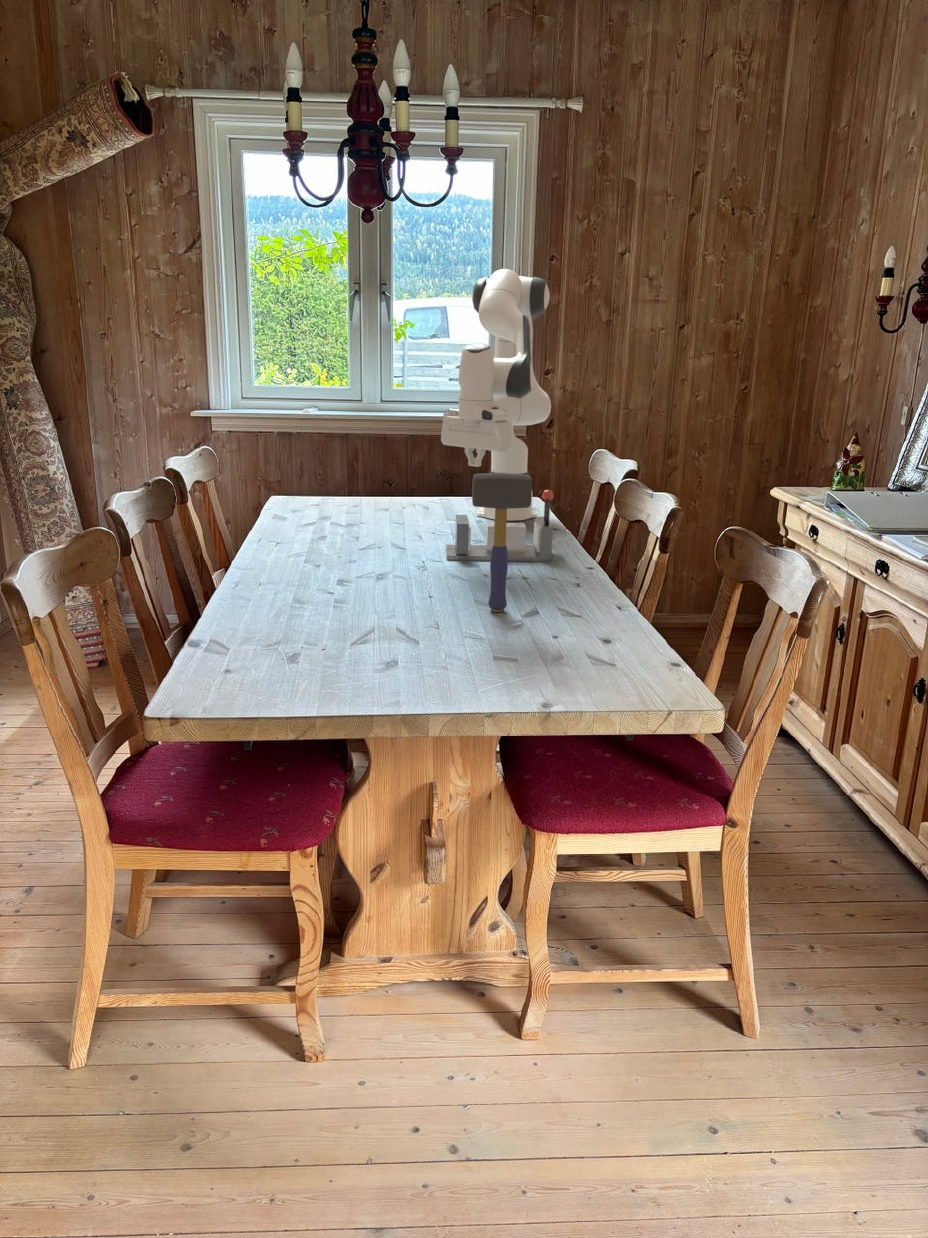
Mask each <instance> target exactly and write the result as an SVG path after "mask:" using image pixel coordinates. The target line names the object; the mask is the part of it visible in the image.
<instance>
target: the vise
mask: <svg viewBox="0 0 928 1238" xmlns="http://www.w3.org/2000/svg"><path fill="white" fill-rule="evenodd" d="M541 496H542V499H544V506H543V507H544V510H543V516H538V517H535V521H533V541H532V543H533V545H525V553H507V555H508V562H539V561H543V562H545V561H548V563H550V562H552V554H553V553H552V552H553V537H554V536H553V533H554V532H553V531H554V526H553V524H552V523H551V520H550V516H551V515H550V512H551V500H552V499H553V498H554V492H553V491H552V490H551V489H545V490H544V491H543V492H542V494H541ZM445 551H446V553H445V554H446V560H447V561H472V562H473V561H478V562H479V561H480V562H481V561H482V562H484V561H487V562H490V561H491V553H487V551H486V544H470V550H468V554H456V547H455V544H445ZM545 563H546V562H545Z"/></svg>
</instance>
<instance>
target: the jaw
mask: <svg viewBox="0 0 928 1238" xmlns="http://www.w3.org/2000/svg"><path fill="white" fill-rule="evenodd" d="M454 528H455V529H454V530H455V537H454V539H455V540H454V545H455V547H456V554H468V550H470V545H471V544H472V543H471V538H472V536H471V535H472V534H471V533H472V527H471V522H470V518H468V515H467V514H455V527H454Z"/></svg>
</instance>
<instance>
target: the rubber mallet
mask: <svg viewBox="0 0 928 1238" xmlns="http://www.w3.org/2000/svg"><path fill="white" fill-rule="evenodd" d="M532 482H533V481H532V476H531V475H530V474H528V475H523V474H511V473H490V472H487V473H486V472H485V473H474V474H473V476H472V485H471V498H472V499H471V500H472V501H471V502H472V503H471V504H472V505H473V507H476V508H477V507H478V508H481V507H485V508H495V519H494V523H495V528H494V545H493V547H492V552H491V561H489V568H490V569H489V570H490V572H489V573H490V594H489V598H488V607H489V609H490V611H492V612H495V613H499V612H501V613H502V612H504V611H505V610H506V607H507V602H508V601H507V597H506V596H507V595H506V588H507V587H506V586H507V583H506V582H507V574H508V566H509V561H508V555H507V547H506V523H508V521H507V509H511V508H528V507H530V505H531V497H532V498H533V487H532V486H533V483H532Z"/></svg>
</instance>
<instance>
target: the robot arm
mask: <svg viewBox="0 0 928 1238" xmlns="http://www.w3.org/2000/svg"><path fill="white" fill-rule="evenodd" d="M550 295H551V294H550V290H549V286H548V282H546V280H545V279H544V278H541V277H537V276H533V277H529V276H521V275H519V274H518V273H516V272H515V271H514V270H511V269H509V268H501V269H499V270H496V271H494V272H493V273H492V274H491V275H490V276H486V277H485V276H484V277H482V278H481V277H480V278H479V279H477V280H476V282H475V283H474V285H473V289H472V292H471V301H472V304H473V309H474V310H475V311H476V313H477V314H478V319H479V322H480V325H481V326H482V327H483V329H485V331H487V332H488V333H489V334H491V336H494V337H495V341H494V343H495V344H494V346H495V347H494V349H493V347H492V346H491V345H488V344H486V343H471V344H468V345H466V346H463V347H462V351H461V356H460V363H459V371H458V384H459V387H460V391H459V396H458V409H457V408H456V409H453V408H448V409H446V410H445V411H444V413H443V417H442V420H443V421H442V427H441V431H440V432H441V434H440V441H441V443H442V445H444V446H450V447H460V448H464V454H465V455H466V458H467V461H468V462H467V465H468V466H470V467H477V468H478V467H481V466H482V460H483V458H484V456H485V455H486V451H490V452H491V459H490V460H491V462H490V463H491V464H490V469H491V470H490V471H489V473H511V474H523V475H529V472H528V459H529V456H528V455H529V448H528V445H527V444H526V443H525V442H524V441H523V440H522V439H520V438H519V437H516V434H515V432H514V431H515V430H514V426H532V425H536V424H540V423H543V422H546V421H547V419H548V418H549V417H550V414H551V410H552V401H551V398H550V396H549V395H548V393H547V392H546V391H544V389H543V388H541V386H540V384H539V383H538V381H537V378H536V376H535V372H534V366H533V345H534V344H533V340H534V339H533V338H534V335H533V334H534V332H533V331H534V330H533V321H536V320H537V317H540V316H542V315H543V314H544V313H545V312H546V311H547V308H548V305H549V302H550ZM474 451H476V452H475V453H476V457H475V456H474V453H473V452H474ZM476 515H477V517H483V518H486V519H490V520H491V519H492V520H495V508H485V507H480V509H479V510H478V511H477V513H476ZM536 517H539V516H538V513H537V512H535V511H534V510H533V496H532V497H531V505H530V507H528V508H511V509H507V522H508V521H510V522H511V521H512V522H513V521H524V520H528V519H532V518H536Z"/></svg>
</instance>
